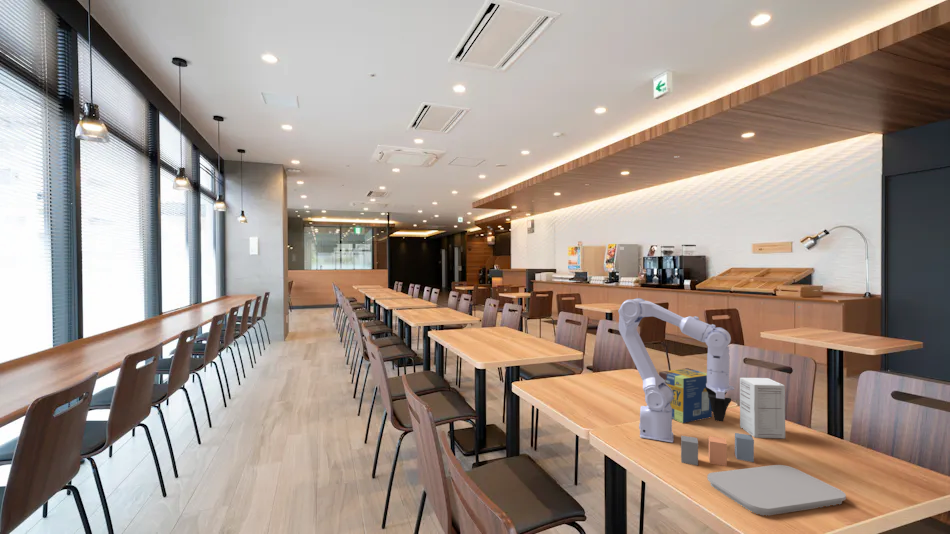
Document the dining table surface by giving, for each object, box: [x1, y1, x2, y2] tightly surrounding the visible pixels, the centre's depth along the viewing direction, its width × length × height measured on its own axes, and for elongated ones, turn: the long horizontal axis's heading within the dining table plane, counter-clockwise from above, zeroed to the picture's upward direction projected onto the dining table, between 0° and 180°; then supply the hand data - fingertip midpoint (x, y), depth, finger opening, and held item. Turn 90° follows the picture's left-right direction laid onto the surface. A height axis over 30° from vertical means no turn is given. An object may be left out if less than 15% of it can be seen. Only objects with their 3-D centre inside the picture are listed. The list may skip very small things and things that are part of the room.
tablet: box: [707, 464, 847, 517], centre depth 100 cm, size 16×26×2 cm, turn 103°
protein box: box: [658, 367, 713, 424], centre depth 153 cm, size 10×15×16 cm
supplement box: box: [739, 377, 786, 439], centre depth 137 cm, size 10×9×17 cm
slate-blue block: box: [734, 432, 755, 463], centre depth 119 cm, size 4×4×6 cm
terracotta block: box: [708, 435, 728, 467], centre depth 116 cm, size 4×4×6 cm
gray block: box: [680, 435, 699, 466], centre depth 116 cm, size 4×4×6 cm
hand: (717, 416), depth 123 cm, fingers open, 7 cm apart
